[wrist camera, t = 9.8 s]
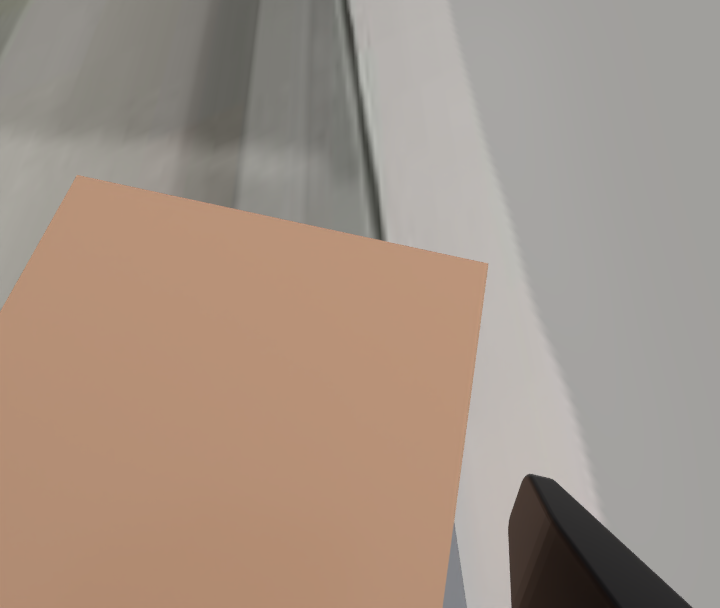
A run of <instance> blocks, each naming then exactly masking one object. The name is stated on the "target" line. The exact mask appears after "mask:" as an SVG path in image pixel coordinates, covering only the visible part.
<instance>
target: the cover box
mask: <svg viewBox="0 0 720 608" xmlns="http://www.w3.org/2000/svg"><path fill="white" fill-rule="evenodd" d="M487 270H488V263H483V262H478V261H474V260H469V259H464V258H460V257H455V256H450V255H446V254H441V253H437V252H432V251H427V250H423V249H418V248H413V247H409V246H404V245H399V244H395V243H390V242H385V241H381V240H376V239H372V238H367V237H362V236H358V235H353V234H348V233H344V232H339V231H334V230H330V229H325V228H320V227H316V226H311V225H307V224H302V223H297V222H293V221H288V220H283V219H279V218H274V217H269V216H265V215H260V214H256V213H251V212H246V211H242V210H237V209H232V208H228V207H223V206H218V205H214V204H209V203H204V202H200V201H195V200H191V199H186V198H181V197H177V196H172V195H167V194H163V193H158V192H153V191H149V190H144V189H139V188H135V187H130V186H126V185H121V184H116V183H112V182H107V181H102V180H98V179H93V178H88V177H84V176H79V175H77V176H76V178H75V180H74V181H73V183H72V185H71V187H70V189H69V190H68V192H67V194H66V196H65V197H64V199H63V201H62V203H61V205H60V206H59V208H58V210H57V212H56V213H55V215H54V217H53V219H52V221H51V222H50V224H49V226H48V228H47V229H46V231H45V233H44V235H43V237H42V238H41V240H40V242H39V244H38V245H37V247H36V249H35V251H34V253H33V254H32V256H31V258H30V260H29V261H28V263H27V265H26V267H25V269H24V270H23V272H22V274H21V276H20V277H19V279H18V281H17V283H16V285H15V286H14V288H13V290H12V292H11V293H10V295H9V297H8V299H7V301H6V302H5V304H4V306H3V308H2V309H1V311H0V608H443V600H444V593H445V585H446V578H447V570H448V563H449V555H450V548H451V540H452V533H453V525H454V518H455V510H456V503H457V495H458V488H459V480H460V473H461V465H462V458H463V450H464V443H465V435H466V428H467V420H468V413H469V405H470V398H471V390H472V383H473V375H474V368H475V360H476V353H477V345H478V338H479V330H480V323H481V315H482V308H483V300H484V293H485V285H486V277H487Z"/></svg>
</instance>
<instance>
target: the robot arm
mask: <svg viewBox="0 0 720 608" xmlns="http://www.w3.org/2000/svg"><path fill="white" fill-rule="evenodd" d="M508 537H509V559H510V582H511V605H512V608H692V607H691V606H690V605H689V604H688V603H687V602H686V601H685V600H684V599H683V598H682V597H680V596H679V595H678V594H677V593H676V592H675V591H674V590H673V589H672V588H671V587H670V586H669V585H667V584H666V583H665V582H664V581H663V580H662V579H661V578H660V577H659V576H658V575H657V574H655V573H654V572H653V571H652V570H651V569H650V568H649V567H648V566H647V565H646V564H645V563H644V562H642V561H641V560H640V559H639V558H638V557H637V556H636V555H635V554H634V553H632V551H631V550H629V549H628V548H627V547H626V546H625V545H624V544H623V543H622V542H621V541H620V540H619V539H617V538H616V537H615V536H614V535H613V534H612V533H611V532H610V531H609V530H608V529H607V528H606V527H604V526H603V525H602V524H601V523H600V522H599V521H598V520H597V519H596V518H595V517H594V516H592V515H591V514H590V513H589V512H588V511H587V510H586V509H585V508H584V507H583V506H582V505H581V504H579V503H578V502H577V501H576V500H575V499H574V498H573V497H572V496H571V495H570V494H569V493H567V492H566V491H565V490H564V489H563V488H562V487H561V486H560V485H559V484H558V483H557V482H556V481H554V480H553V479H550V478H547V477H542V476H538V475H533V474H528V475H526V476H525V477H524V479H523V481H522V483H521V486H520V489H519V492H518V495H517V497H516V500H515V503H514V506H513V509H512V512H511V515H510V519H509V526H508Z"/></svg>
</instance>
